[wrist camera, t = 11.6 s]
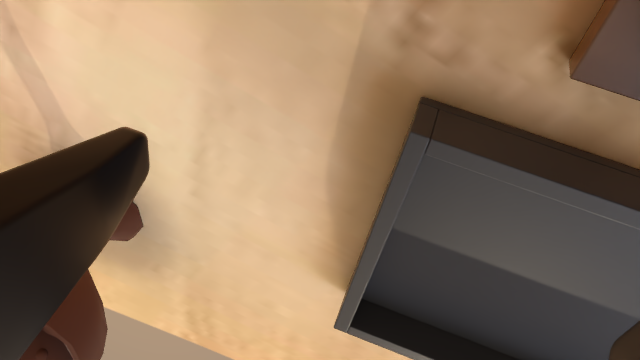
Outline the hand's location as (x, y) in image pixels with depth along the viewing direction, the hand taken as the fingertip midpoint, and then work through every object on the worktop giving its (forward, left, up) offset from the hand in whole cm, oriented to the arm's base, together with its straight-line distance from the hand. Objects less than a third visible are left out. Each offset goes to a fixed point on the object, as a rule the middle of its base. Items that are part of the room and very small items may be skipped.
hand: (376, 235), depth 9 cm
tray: (-9, +12, -12) cm, 19 cm away
